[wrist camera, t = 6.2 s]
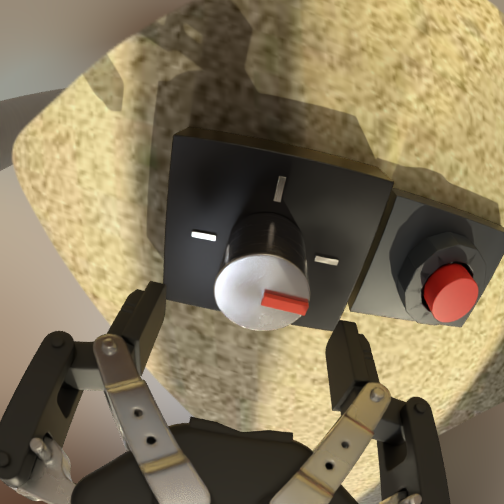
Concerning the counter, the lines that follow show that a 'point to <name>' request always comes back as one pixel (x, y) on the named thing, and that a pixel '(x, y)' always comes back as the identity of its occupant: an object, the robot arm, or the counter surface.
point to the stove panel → (271, 201)
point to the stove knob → (263, 273)
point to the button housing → (422, 256)
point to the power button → (450, 292)
